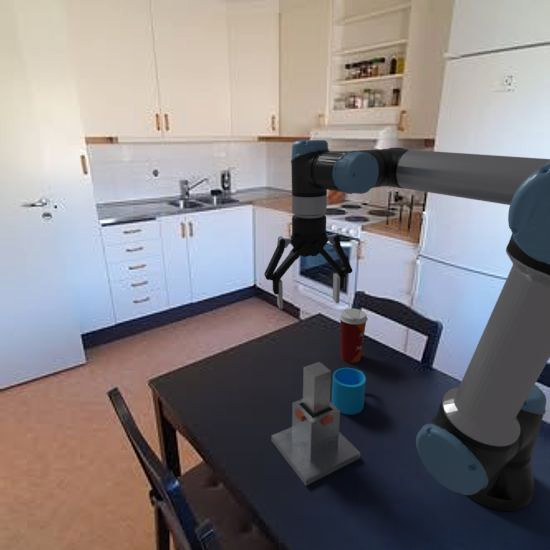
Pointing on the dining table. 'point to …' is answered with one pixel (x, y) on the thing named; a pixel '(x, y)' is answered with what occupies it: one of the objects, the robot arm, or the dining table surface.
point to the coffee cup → (352, 334)
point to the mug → (348, 390)
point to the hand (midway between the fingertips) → (308, 303)
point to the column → (316, 389)
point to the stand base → (314, 444)
